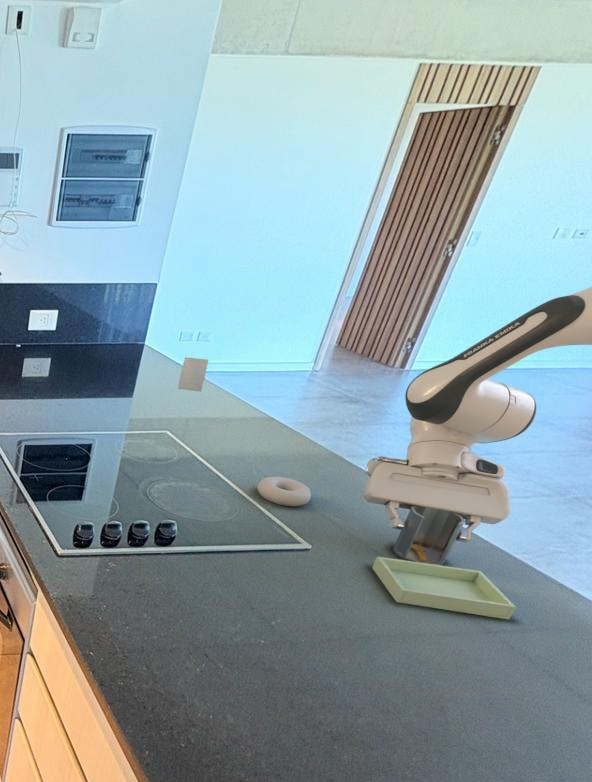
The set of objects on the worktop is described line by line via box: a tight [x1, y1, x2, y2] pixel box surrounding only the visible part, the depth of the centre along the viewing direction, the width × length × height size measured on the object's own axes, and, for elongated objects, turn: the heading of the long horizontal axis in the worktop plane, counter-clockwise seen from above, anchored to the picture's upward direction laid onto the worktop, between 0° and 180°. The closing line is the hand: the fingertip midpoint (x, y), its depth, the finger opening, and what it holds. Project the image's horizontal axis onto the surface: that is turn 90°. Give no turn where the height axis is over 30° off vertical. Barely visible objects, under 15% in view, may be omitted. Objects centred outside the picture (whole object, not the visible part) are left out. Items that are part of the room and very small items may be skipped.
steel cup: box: [393, 505, 465, 566], centre depth 112 cm, size 7×7×9 cm
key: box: [410, 544, 427, 561], centre depth 114 cm, size 5×2×1 cm, turn 153°
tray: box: [371, 556, 517, 620], centre depth 104 cm, size 15×10×2 cm
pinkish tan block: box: [177, 356, 209, 392], centre depth 198 cm, size 4×7×10 cm, turn 66°
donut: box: [256, 476, 312, 507], centre depth 133 cm, size 10×4×10 cm
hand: (429, 534), depth 111 cm, fingers open, 8 cm apart
